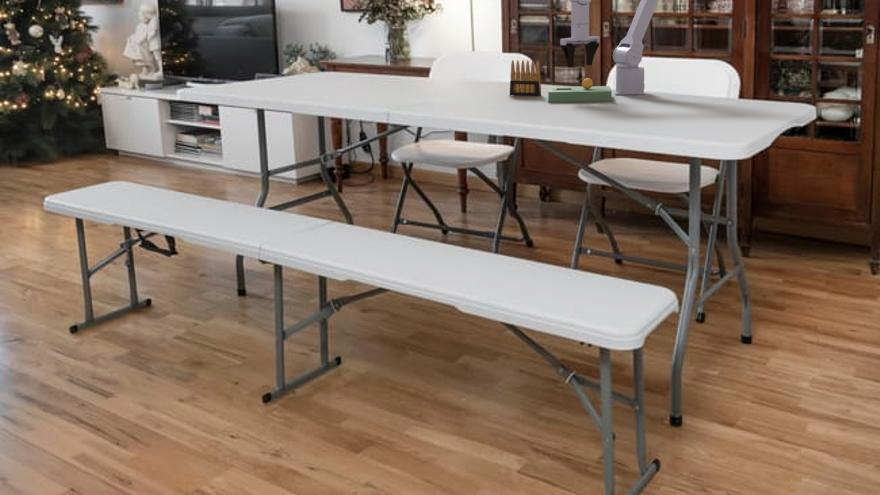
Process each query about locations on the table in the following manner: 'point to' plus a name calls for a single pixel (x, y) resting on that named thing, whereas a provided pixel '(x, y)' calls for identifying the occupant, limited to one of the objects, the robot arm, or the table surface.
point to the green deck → (580, 94)
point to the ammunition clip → (525, 80)
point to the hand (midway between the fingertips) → (579, 66)
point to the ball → (587, 83)
